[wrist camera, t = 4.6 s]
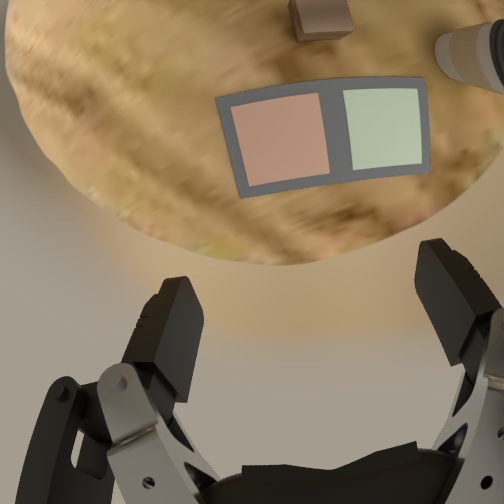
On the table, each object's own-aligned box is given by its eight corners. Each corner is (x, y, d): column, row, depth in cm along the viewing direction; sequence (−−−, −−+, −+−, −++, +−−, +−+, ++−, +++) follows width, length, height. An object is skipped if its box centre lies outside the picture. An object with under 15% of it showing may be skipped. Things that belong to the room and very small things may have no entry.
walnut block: (287, 5, 23) (292, -10, 18) (330, 3, 22) (342, -12, 17) (297, 42, 25) (304, 33, 20) (339, 39, 25) (354, 30, 20)
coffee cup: (419, 63, 25) (498, 66, 12) (436, 14, 20) (511, 0, 7) (466, 100, 26) (544, 124, 13) (482, 52, 21) (557, 61, 9)
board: (215, 98, 29) (214, 98, 29) (422, 77, 26) (425, 77, 25) (240, 197, 36) (240, 199, 36) (428, 171, 32) (430, 173, 32)
